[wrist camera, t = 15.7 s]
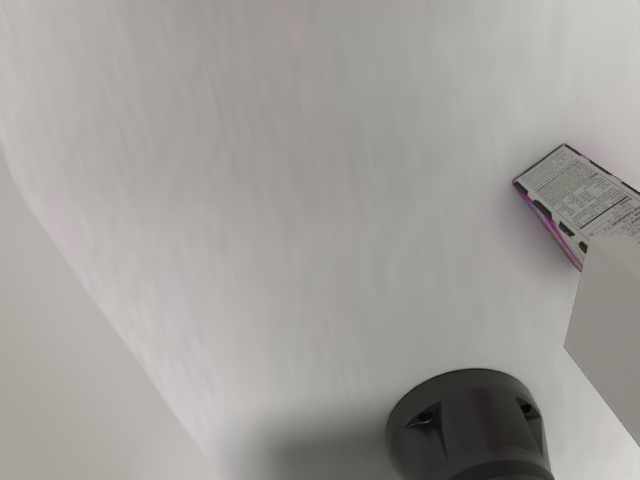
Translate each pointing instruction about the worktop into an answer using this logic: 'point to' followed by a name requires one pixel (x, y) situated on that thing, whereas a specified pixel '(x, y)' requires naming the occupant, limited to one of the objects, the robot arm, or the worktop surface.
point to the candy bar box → (579, 201)
